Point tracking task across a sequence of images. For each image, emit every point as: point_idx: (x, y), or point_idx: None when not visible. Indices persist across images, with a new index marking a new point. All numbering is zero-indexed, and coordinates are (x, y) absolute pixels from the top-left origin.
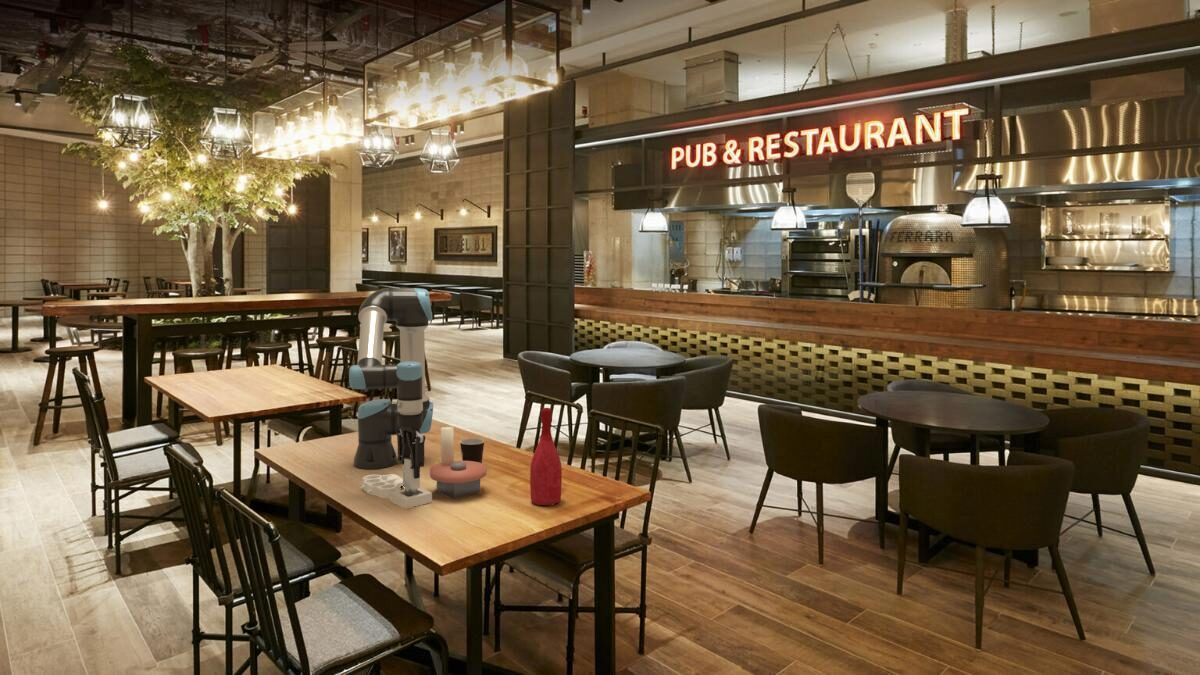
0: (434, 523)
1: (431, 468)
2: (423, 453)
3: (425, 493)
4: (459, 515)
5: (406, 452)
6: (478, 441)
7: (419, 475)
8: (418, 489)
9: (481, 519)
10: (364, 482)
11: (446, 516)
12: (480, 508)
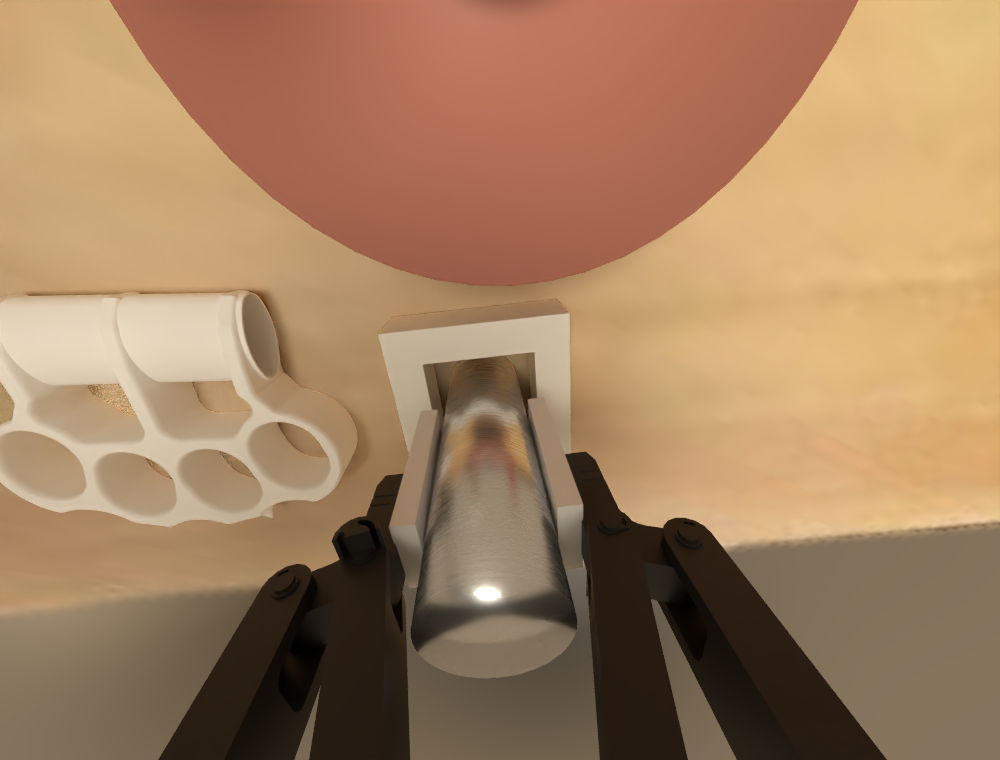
0: (797, 408)
1: (312, 212)
2: (845, 723)
3: (551, 349)
4: (830, 270)
5: (400, 731)
6: None
7: (597, 468)
8: (449, 350)
9: (980, 199)
10: (161, 525)
11: (782, 331)
12: (869, 89)
